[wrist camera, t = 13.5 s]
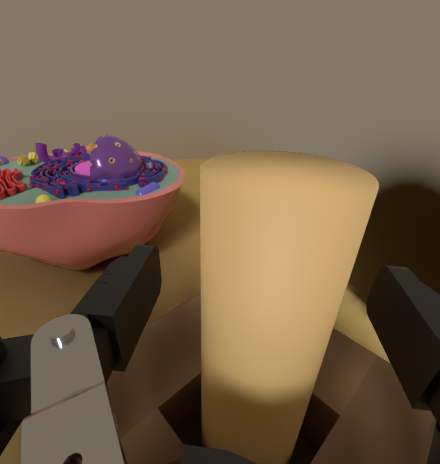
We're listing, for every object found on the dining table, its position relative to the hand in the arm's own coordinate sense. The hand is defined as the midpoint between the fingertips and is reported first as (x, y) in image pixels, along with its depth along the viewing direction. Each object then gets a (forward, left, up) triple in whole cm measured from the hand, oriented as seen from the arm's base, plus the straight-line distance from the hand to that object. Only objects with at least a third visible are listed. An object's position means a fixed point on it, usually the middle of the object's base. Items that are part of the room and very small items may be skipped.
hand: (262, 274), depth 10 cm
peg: (+1, -1, -9) cm, 10 cm away
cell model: (-22, +1, -10) cm, 24 cm away
